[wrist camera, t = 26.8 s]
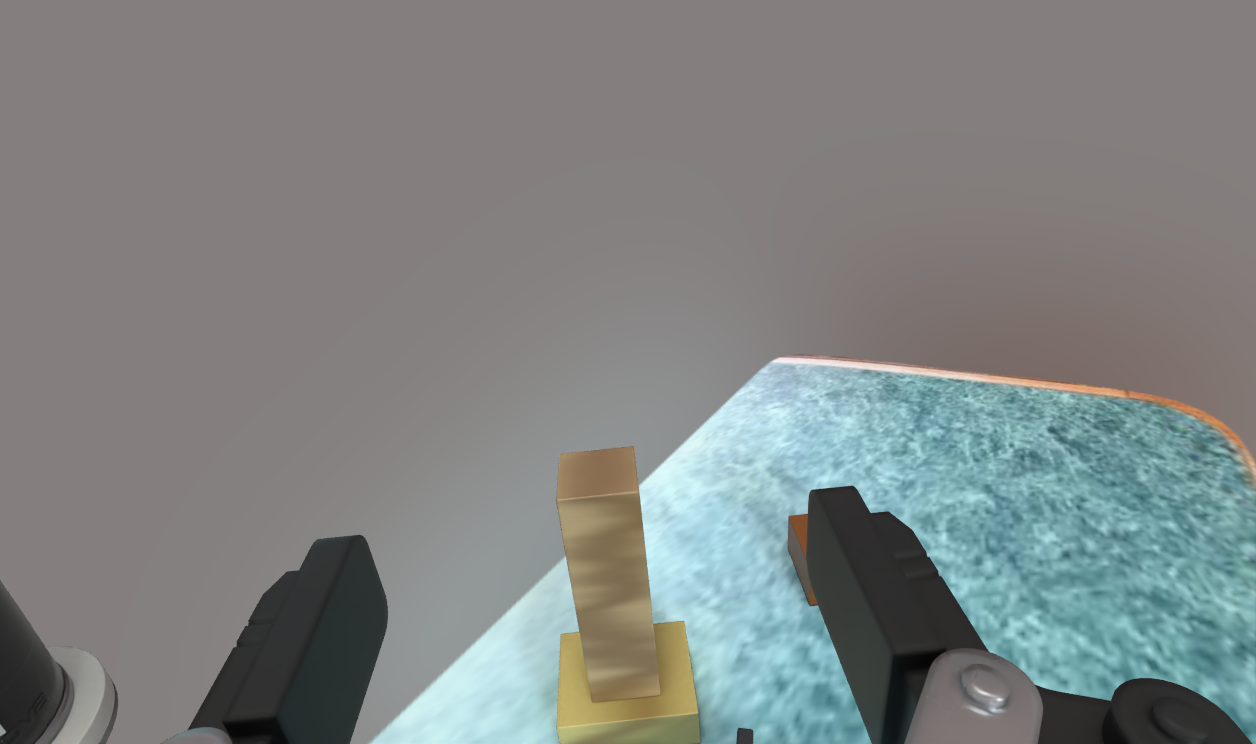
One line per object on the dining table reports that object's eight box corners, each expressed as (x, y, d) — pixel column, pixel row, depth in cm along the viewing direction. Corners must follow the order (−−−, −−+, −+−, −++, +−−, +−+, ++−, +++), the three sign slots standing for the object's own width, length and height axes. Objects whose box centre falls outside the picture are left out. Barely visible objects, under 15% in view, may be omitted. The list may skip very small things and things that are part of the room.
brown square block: (809, 606, 36) (810, 571, 35) (787, 548, 40) (788, 515, 39) (893, 596, 36) (897, 562, 35) (863, 539, 40) (865, 507, 39)
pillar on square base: (562, 758, 30) (511, 523, 24) (566, 661, 34) (523, 443, 28) (701, 743, 30) (684, 504, 24) (686, 648, 34) (669, 427, 28)
